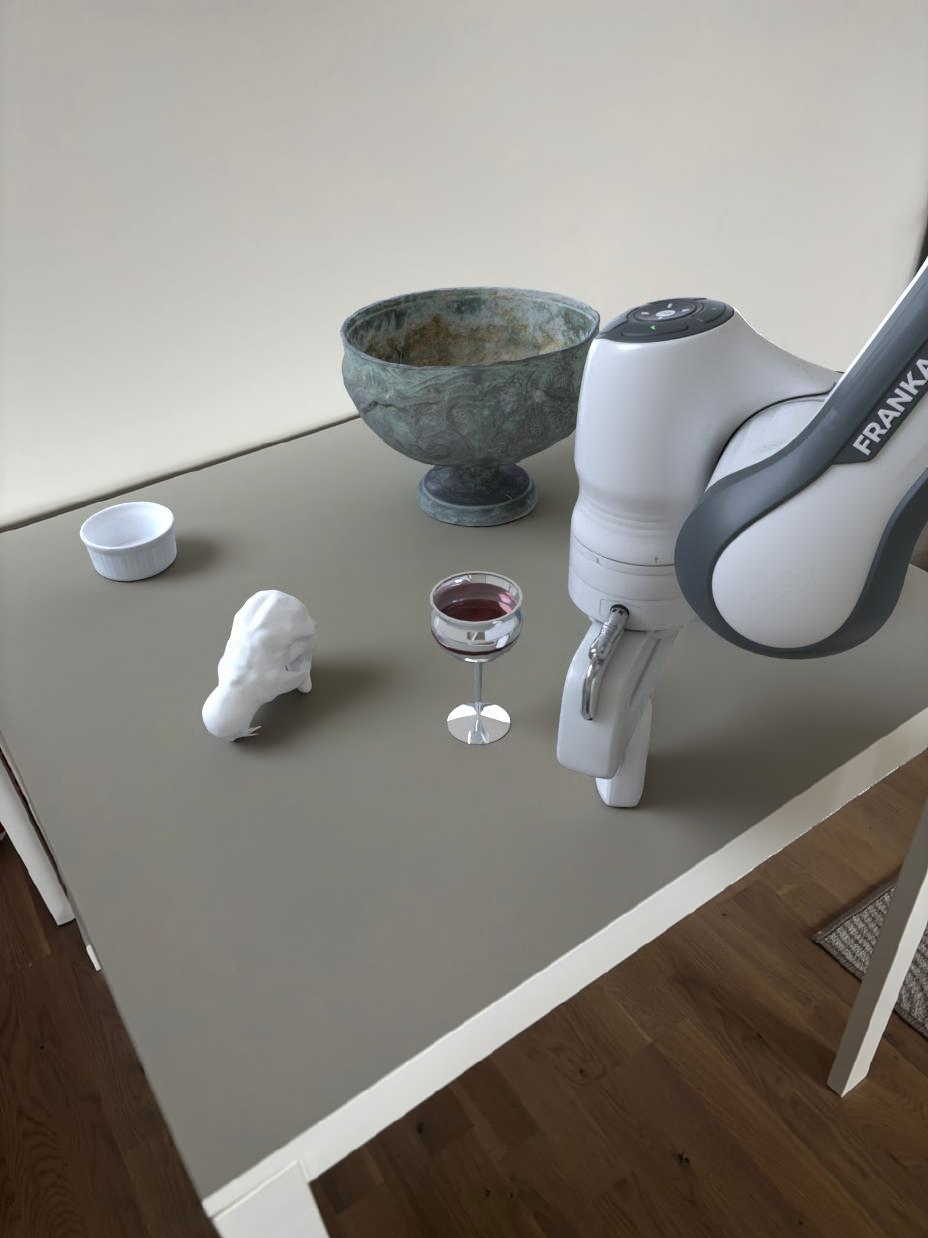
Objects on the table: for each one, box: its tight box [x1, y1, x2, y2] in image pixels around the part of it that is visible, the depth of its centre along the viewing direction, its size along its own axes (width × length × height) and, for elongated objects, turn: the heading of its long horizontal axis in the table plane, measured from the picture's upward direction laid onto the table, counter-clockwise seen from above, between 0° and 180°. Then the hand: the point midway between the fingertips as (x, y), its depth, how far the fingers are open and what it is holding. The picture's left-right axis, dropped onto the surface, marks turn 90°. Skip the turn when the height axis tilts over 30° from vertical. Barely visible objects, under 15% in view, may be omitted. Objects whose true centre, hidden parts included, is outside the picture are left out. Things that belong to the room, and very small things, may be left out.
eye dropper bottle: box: [595, 698, 653, 808], centre depth 67 cm, size 4×6×12 cm
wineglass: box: [429, 570, 524, 745], centre depth 73 cm, size 7×7×12 cm
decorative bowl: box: [339, 285, 601, 527], centre depth 100 cm, size 26×26×20 cm
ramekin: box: [79, 501, 178, 582], centre depth 96 cm, size 9×9×4 cm
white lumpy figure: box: [201, 589, 319, 742], centre depth 76 cm, size 6×8×12 cm
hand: (624, 734), depth 68 cm, fingers closed on eye dropper bottle, 5 cm apart
